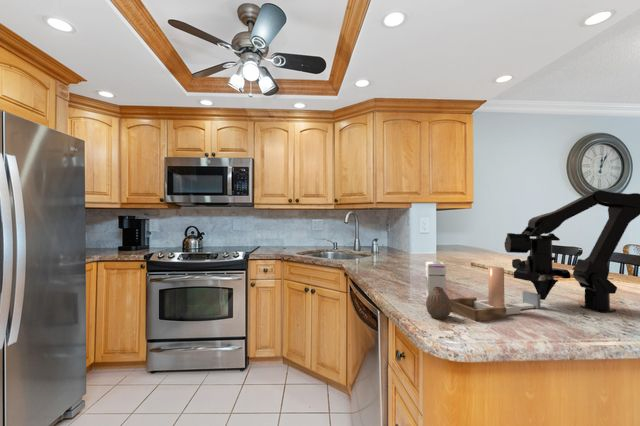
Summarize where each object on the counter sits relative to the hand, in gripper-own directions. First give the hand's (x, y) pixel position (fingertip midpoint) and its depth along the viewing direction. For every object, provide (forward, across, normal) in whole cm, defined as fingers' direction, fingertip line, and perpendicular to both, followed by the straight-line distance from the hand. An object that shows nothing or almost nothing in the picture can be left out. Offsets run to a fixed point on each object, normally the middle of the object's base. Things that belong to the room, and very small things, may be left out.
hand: (542, 299), depth 97 cm
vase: (+2, +42, 0) cm, 42 cm away
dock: (+2, +28, 0) cm, 28 cm away
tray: (+2, +14, 0) cm, 15 cm away
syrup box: (+2, +35, -10) cm, 36 cm away
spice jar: (+1, +20, 0) cm, 20 cm away
